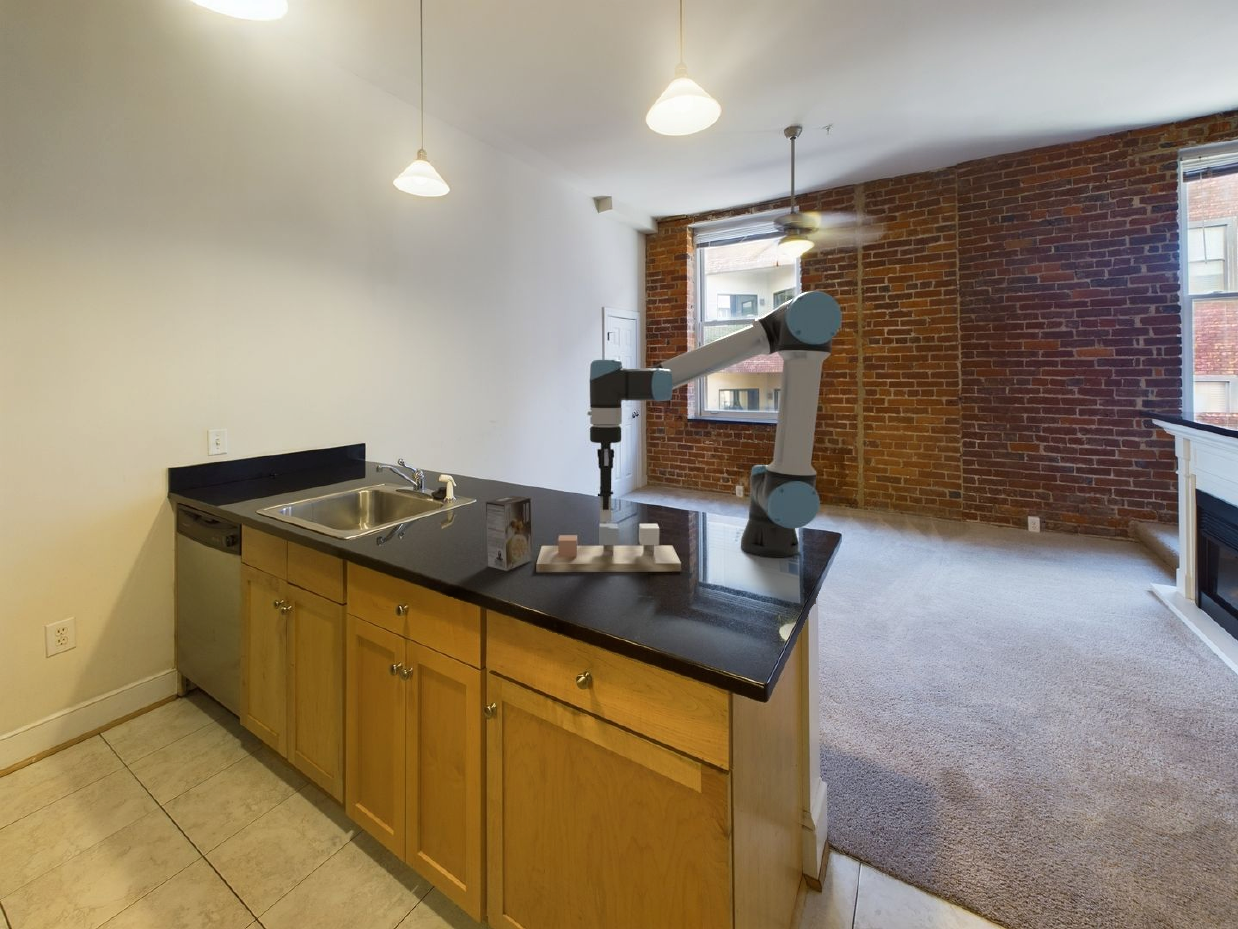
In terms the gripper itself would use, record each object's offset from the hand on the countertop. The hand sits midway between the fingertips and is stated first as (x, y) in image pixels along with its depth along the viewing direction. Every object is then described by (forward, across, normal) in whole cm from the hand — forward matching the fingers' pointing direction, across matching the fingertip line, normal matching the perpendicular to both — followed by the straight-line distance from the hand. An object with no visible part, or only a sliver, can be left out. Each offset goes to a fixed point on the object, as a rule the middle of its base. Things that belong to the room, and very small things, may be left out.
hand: (605, 521), depth 131 cm
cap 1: (+8, 0, -9) cm, 12 cm away
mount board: (+10, 0, +1) cm, 10 cm away
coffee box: (+10, +1, -23) cm, 26 cm away
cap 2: (+5, 0, +11) cm, 12 cm away
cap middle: (+5, 0, +1) cm, 5 cm away
